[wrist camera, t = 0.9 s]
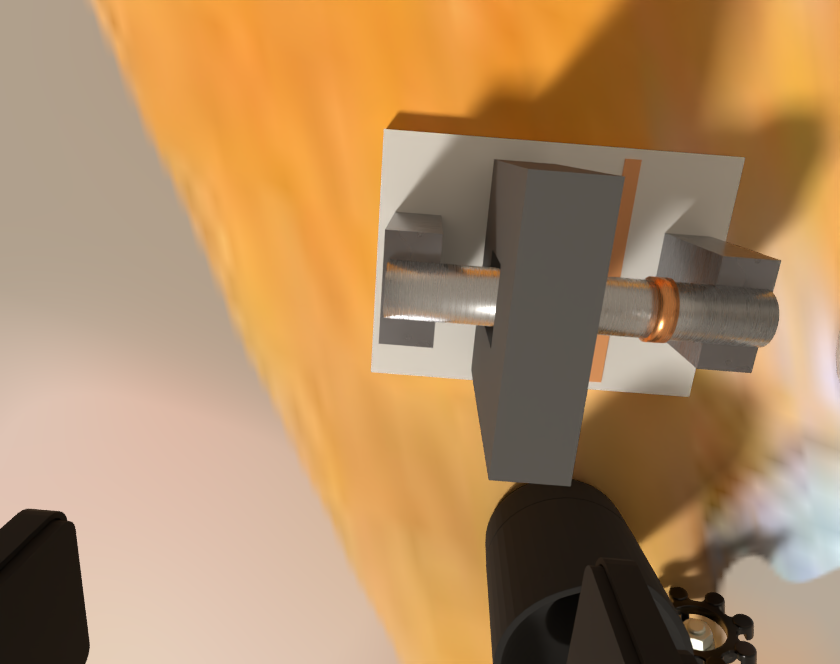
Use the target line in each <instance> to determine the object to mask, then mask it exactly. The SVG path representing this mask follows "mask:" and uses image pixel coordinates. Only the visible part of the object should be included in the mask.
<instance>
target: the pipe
mask: <svg viewBox="0 0 840 664" xmlns="http://www.w3.org/2000/svg"><path fill="white" fill-rule="evenodd" d="M442 240H443V228H442V217H441V215H430V214H418V213H405V212H395V213H394V214H393V216H392V218H391V220H390V222H389V223H388V225H387V227H386V229H385V238H384V256H383V274H382V291H381V309H380V327H379V344H389V345H402V346H414V347H427V348H433V344H434V332H435V322H442V323H455V324H467V325H480V326H493V327H494V319H495V311H496V302H497V294H498V285H499V277H500V269H501V268H494V267H481V266H468V265H456V264H443V263H441V251H442ZM780 263H781V260H778V259H775V258H772V257H769V256H766V255H763V254H760V253H758V252H755V251H752V250H749V249H746V248H743V247H740V246H737V245H734V244H731V243H728V242H725V241H723V240H720V239H717V238H714V237H710V236H697V235H684V234H672V233H665V235H664V240H663V245H662V250H661V255H660V260H659V265H658V270H657V275H656V277H654V276H649V277H647V278H645V279H633V278H621V277H607V282H606V288H605V294H604V299H603V305H602V311H601V316H600V322H599V328H598V333H597V335H607V336H620V337H633V338H639V339H640V340H641V341H642V342H651V343H668V344H669V345H670V346H671V347H672V348H673V349H675V350H676V351H677V352H678V353H679V354H680V355H682V356H683V357H684V358H685V359H686V360H687V361H688V362H690V363H691V364H692V365H693V366H694V367H695V368H697V369H707V370H719V371H732V372H745V373H751V372H752V369H753V365H754V361H755V357H756V354H757V350H758V347H764V346H765V345H767V344H768V343H769V342H770V341H771V340H772V338H773V336H774V335H775V332H776V330H777V326H778V321H779V306H778V302H777V299H776V297H775V295H774V294H773V290H774V286H775V282H776V278H777V275H778V271H779V267H780Z"/></svg>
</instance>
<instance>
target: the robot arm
mask: <svg viewBox="0 0 840 664" xmlns="http://www.w3.org/2000/svg"><path fill="white" fill-rule="evenodd" d="M836 364H837V375H838V378H839V381H840V332H839V337H838V344H837V350H836ZM89 646H90V644H89V636H88V627H87V619H86V610H85V602H84V595H83V587H82V578H81V570H80V562H79V554H78V546H77V537H76V529H75V526H74V524H73V523H72V522H70V521H67V518H66V516H65V514H64V513H62V512H60V511H49V510H37V509H25V510H22V511H21V512H19V513H18V514H17V515H15V516H14V517H13V518H12V519H11V520H10V521H9V522H8V523H6V524H5V525H4V526H3V527H2V528H1V529H0V664H85V663H86V660H87V657H88V654H89V648H90V647H89ZM567 664H698V662H697V661H696V659H695V658H694V656H693V655H692V654H691V653H690V652H689V651H687V650H678V649H676V647H675V644H674V642H673V640H672V638H671V636H670V634H669V632H668V629H667V627H666V625H665V623H664V621H663V619H662V617H661V614H660V612H659V610H658V608H657V606H656V604H655V602H654V599H653V597H652V595H651V593H650V591H649V589H648V587H647V584H646V582H645V580H644V578H643V576H642V574H641V571H640V569H639V567H638V565H637V564H636V562H635V561H633V560H629V559H617V558H605V557H600V558H598V560H597V561H596V565H595V566H592V565H588V566H586V568H585V571H584V576H583V581H582V586H581V592H580V597H579V602H578V607H577V612H576V617H575V623H574V628H573V633H572V638H571V643H570V648H569V653H568V659H567Z"/></svg>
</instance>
